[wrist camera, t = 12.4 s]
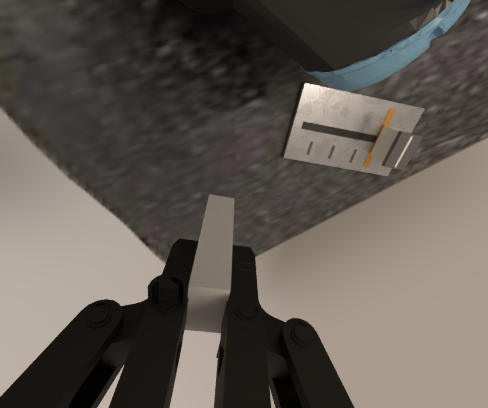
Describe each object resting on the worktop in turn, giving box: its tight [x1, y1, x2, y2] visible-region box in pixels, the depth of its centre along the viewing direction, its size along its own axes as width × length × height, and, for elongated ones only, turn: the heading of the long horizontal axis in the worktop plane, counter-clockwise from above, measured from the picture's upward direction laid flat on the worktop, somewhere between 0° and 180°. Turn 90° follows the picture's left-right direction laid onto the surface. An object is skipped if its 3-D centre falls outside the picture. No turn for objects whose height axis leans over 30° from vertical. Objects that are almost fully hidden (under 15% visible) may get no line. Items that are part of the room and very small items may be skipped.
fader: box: [371, 125, 424, 170], centre depth 38 cm, size 5×3×5 cm, turn 169°
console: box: [282, 82, 424, 176], centre depth 40 cm, size 12×20×4 cm, turn 79°
